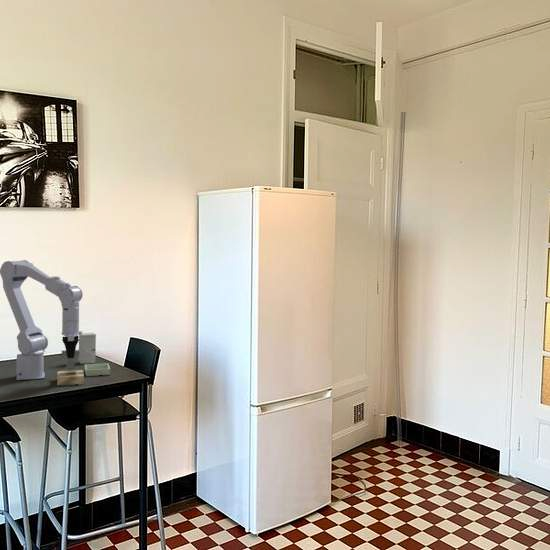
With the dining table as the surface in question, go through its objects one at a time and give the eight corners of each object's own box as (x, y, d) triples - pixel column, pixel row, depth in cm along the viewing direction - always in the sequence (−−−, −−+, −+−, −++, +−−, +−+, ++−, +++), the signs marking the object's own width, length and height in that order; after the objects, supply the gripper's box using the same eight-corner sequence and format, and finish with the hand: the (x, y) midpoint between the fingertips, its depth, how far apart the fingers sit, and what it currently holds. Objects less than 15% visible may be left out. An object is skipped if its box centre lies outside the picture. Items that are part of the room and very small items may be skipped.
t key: (61, 369, 212) (61, 352, 211) (61, 368, 214) (61, 350, 214) (79, 368, 214) (79, 351, 213) (79, 367, 216) (79, 349, 216)
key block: (57, 385, 209) (57, 377, 209) (57, 379, 217) (57, 371, 217) (83, 384, 212) (83, 375, 212) (83, 377, 220) (83, 370, 220)
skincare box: (81, 364, 241) (81, 335, 240) (78, 362, 245) (78, 333, 244) (96, 362, 245) (96, 334, 244) (93, 360, 249) (93, 332, 248)
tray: (85, 376, 222) (85, 369, 222) (84, 370, 231) (84, 364, 231) (110, 375, 226) (110, 368, 225) (108, 369, 234) (108, 363, 234)
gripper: (83, 323, 207) (82, 360, 208) (81, 316, 221) (81, 352, 222) (61, 323, 205) (61, 361, 206) (61, 317, 218) (61, 353, 220)
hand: (70, 357), depth 214 cm, fingers closed on t key, 3 cm apart
